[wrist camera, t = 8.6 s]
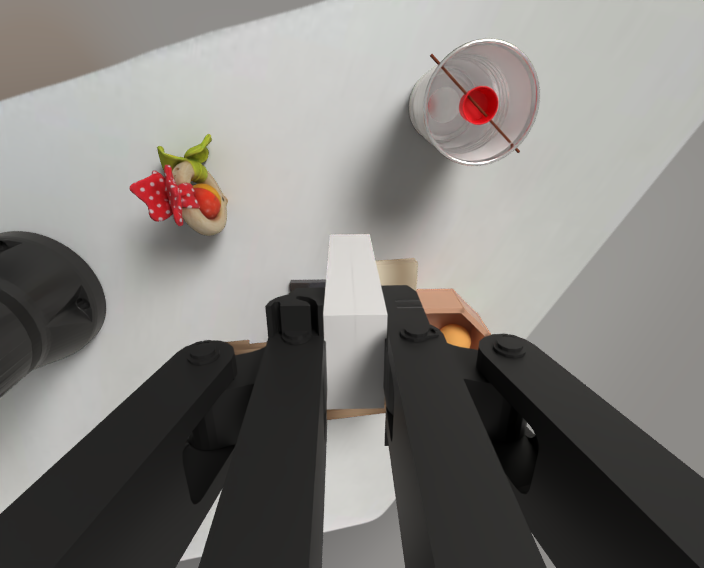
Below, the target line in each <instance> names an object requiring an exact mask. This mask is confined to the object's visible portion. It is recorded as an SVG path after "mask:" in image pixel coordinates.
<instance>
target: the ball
mask: <svg viewBox="0 0 704 568" xmlns="http://www.w3.org/2000/svg"><path fill="white" fill-rule="evenodd" d="M440 331H441V332H442V333H443V334H444V336H445V339H446V341H447V343H449V344H452V345H455V346H459V347H464V348H470V345H471V338H470V335H469V333H468V331H467V330H466V329H465V328H464V327H462V326H460V325H457V324H449V325H446V326H444V327H442V328H441V329H440Z"/></svg>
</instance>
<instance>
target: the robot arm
mask: <svg viewBox="0 0 704 568" xmlns="http://www.w3.org/2000/svg"><path fill="white" fill-rule="evenodd" d="M265 307H266V317H267V328H268V341H267V344H266V346H265V347H263V348H261V349H259V350H256V351H252V352H248V353H243V354H238V355H235V352H234V348H233V347H232V346H231V345H230V344H229V343H226V342H222V341H211V340H206V341H203V342H202V341H200V342H196V343H194V344H192V345H189V346H186V347H185V348H183V349H182V350H180V351H179V352H177V353H176V354H175V355H174V356H173V357H172V358H171V359H169V360H168V361H167V362H166V363H165V364H164V365H163V366H162V367H161V368H160V369H159V370H157V371H156V372H155V373H154V374H153V375H152V376H151V377H150V378H149V379H148V380H146V381H145V382H144V383H143V384H142V385H141V386H140V387H139V388H138V389H137V390H136V391H134V392H133V393H132V394H131V395H130V396H129V397H128V398H127V399H126V400H125V401H123V402H122V403H121V404H120V405H119V406H118V407H117V408H116V409H115V410H114V411H112V412H111V413H110V414H109V415H108V416H107V417H106V418H105V419H104V420H103V421H102V422H100V423H99V424H98V425H97V426H96V427H95V428H94V429H93V430H92V431H91V432H89V433H88V434H87V435H86V436H85V437H84V438H83V439H82V440H81V441H80V442H79V443H77V444H76V445H75V446H74V447H73V448H72V449H71V450H70V451H69V452H68V453H66V454H65V455H64V456H63V457H62V458H61V459H60V460H59V461H58V462H57V463H56V464H54V465H53V466H52V467H51V468H50V469H49V470H48V471H47V472H46V473H45V474H43V475H42V476H41V477H40V478H39V479H38V480H37V481H36V482H35V483H34V484H33V485H31V486H30V487H29V488H28V489H27V490H26V491H25V492H24V493H23V494H22V495H20V496H19V497H18V498H17V499H16V500H15V501H14V502H13V503H12V504H11V505H10V506H8V507H7V508H6V509H5V510H4V511H3V512H2V513H1V514H0V568H175V567H176V566H177V564H178V562H179V561H180V559H181V557H182V556H183V554H184V552H185V551H186V549H187V547H188V546H189V544H190V542H191V541H192V539H193V537H194V535H195V534H196V532H197V530H198V529H199V527H200V525H201V524H202V522H203V520H204V519H205V517H206V515H207V513H208V512H209V510H210V508H211V507H212V505H213V503H214V502H215V500H216V498H217V497H218V495H219V493H220V491H221V490H222V492H221V495H220V498H219V502H218V505H217V508H216V512H215V515H214V518H213V521H212V525H211V528H210V531H209V535H208V538H207V541H206V544H205V548H204V551H203V554H202V558H201V561H200V564H199V567H198V568H322V546H323V520H324V494H325V468H326V442H327V409H376V408H384V404H385V401H386V420H385V446H389V452H390V459H391V466H392V474H393V481H394V488H395V496H396V503H397V510H398V518H399V525H400V532H401V540H402V547H403V554H404V562H405V568H546V565H545V563H544V561H543V559H542V556H541V554H540V552H539V549H538V547H537V545H536V543H535V540H534V538H533V536H532V534H533V535H534V537H535V538H536V539H537V541H538V542H539V544H540V545H541V547H542V548H543V550H544V551H545V552H546V554H547V555H548V557H549V558H550V559H551V561H552V562H553V564H554V565H555V567H556V568H704V478H702V477H701V476H700V475H699V474H697V473H696V472H695V471H694V470H692V469H691V468H690V467H688V466H687V465H686V464H685V463H683V462H682V461H681V460H680V459H678V458H677V457H676V456H675V455H673V454H672V453H671V452H669V451H668V450H667V449H666V448H664V447H663V446H662V445H661V444H659V443H658V442H657V441H656V440H654V439H653V438H652V437H650V436H649V435H648V434H647V433H645V432H644V431H643V430H642V429H640V428H639V427H638V426H636V425H635V424H634V423H633V422H632V421H630V420H629V419H628V418H626V417H625V416H624V415H622V414H621V413H620V412H619V411H618V410H616V409H615V408H614V407H612V406H611V405H610V404H609V403H607V402H606V401H605V400H604V399H602V398H601V397H600V396H599V395H597V394H596V393H595V392H594V391H592V390H591V389H590V388H588V387H587V386H586V385H585V384H583V383H582V382H581V381H580V380H578V379H577V378H576V377H575V376H573V375H572V374H571V373H570V372H568V371H567V370H566V369H564V368H563V367H562V366H561V365H559V364H558V363H557V362H556V361H554V360H553V359H552V358H551V357H549V356H548V355H547V354H545V353H544V352H543V351H541V350H540V349H539V348H538V347H537V346H535V345H534V344H532V343H531V342H529V341H527V340H525V339H523V338H520V337H517V336H515V335H510V334H509V335H508V334H492V335H489V336H486V337H484V338H482V339H481V340H480V341H479V347H478V350H476V349H470V348H464V347H459V346H455V345H452V344H449V343H447V341H446V339H445V336H444V334H443V333H442V332H441V331H440V329H438V328H436V327H435V326H433V325H430V323H429V321H428V318H427V316H426V313H425V311H424V308H423V306H422V303H421V301H420V298H419V296H418V294H417V292H416V291H415V290H414V289H412V288H411V287H409V286H408V285H381V283H380V279H379V274H378V270H377V265H376V261H375V256H374V252H373V247H372V243H371V238H370V234H330V239H329V251H328V263H327V275H326V287H321V288H296V289H294V290H293V291H292V292H291V293H289V294H288V295H284V296H281V297H277V298H275V299H273V300H271V301H269V303H268V304H267V305H266V306H265ZM105 313H106V302H105V296H104V292H103V289H102V287H101V284H100V282H99V280H98V278H97V277H96V275H95V273H94V272H93V271H92V269H91V268H90V267H89V265H88V264H87V263H86V262H85V261H84V260H83V259H82V258H81V257H80V256H79V255H77V254H76V253H75V252H74V251H72V250H71V249H69V248H68V247H66V246H65V245H63V244H61V243H59V242H58V241H56V240H53V239H51V238H49V237H46V236H43V235H39V234H36V233H30V232H22V231H12V232H4V233H0V398H1V397H2V396H3V395H4V394H5V393H6V392H7V391H9V390H10V389H11V388H12V387H13V386H14V385H16V384H17V383H18V382H19V381H20V380H21V379H22V378H23V377H25V376H26V375H27V374H28V373H29V372H30V371H32V370H34V369H36V368H39V367H42V366H44V365H47V364H49V363H52V362H55V361H57V360H60V359H62V358H65V357H67V356H70V355H72V354H74V353H75V352H77V351H79V350H80V349H81V348H83V347H84V346H85V345H86V344H87V343H88V342H89V341H90V340H91V339H92V338H93V337H94V336H95V335H96V334H97V333H98V332H99V330H100V329H101V327H102V324H103V322H104V319H105ZM527 423H528V424H529V425H530V426H531V427H532V429H533V430H534V433H535V434H533V433H532V432H531V431H530V430H529V429H528V428H527V427H526V425H527ZM222 488H223V489H222ZM531 533H532V534H531Z"/></svg>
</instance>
